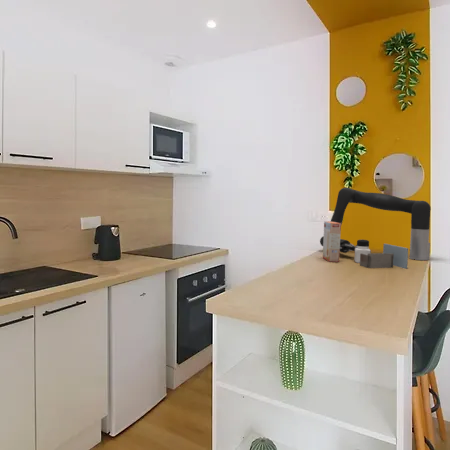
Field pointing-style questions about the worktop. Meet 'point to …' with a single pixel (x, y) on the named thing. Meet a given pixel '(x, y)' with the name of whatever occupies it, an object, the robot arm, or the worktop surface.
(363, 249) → the medicine bottle
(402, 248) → the door board
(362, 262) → the keeper
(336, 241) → the cracker box
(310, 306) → the worktop surface
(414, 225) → the robot arm
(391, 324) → the worktop surface
